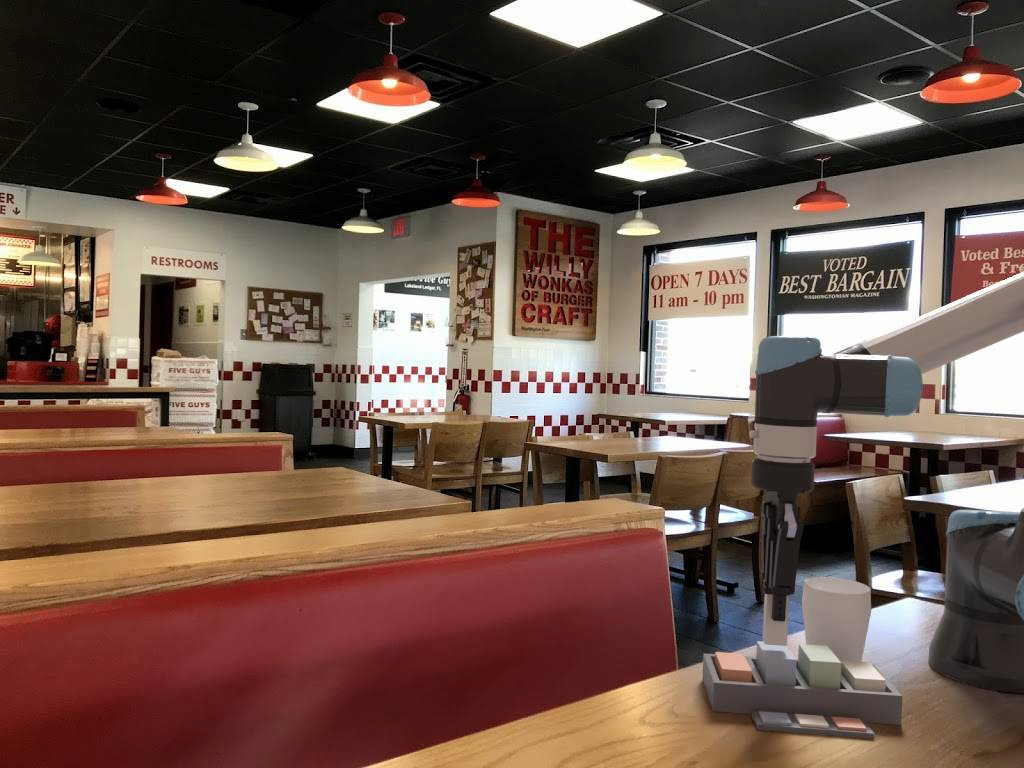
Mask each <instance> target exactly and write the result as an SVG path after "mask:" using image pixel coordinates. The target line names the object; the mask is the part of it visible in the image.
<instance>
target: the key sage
mask: <svg viewBox="0 0 1024 768" xmlns="http://www.w3.org/2000/svg"><path fill="white" fill-rule="evenodd" d="M797 652H798V653H797V654H798V655H797V660H798V671H799V673H800V674H801V676H802V677H803V679H804V680H805V682H806V683H807V685H808V686H809V687H818V688H832V689H840V681H841V662H840V661H839V659H838V658H837V657H836V656H835V655H834V653H833V652H832V651H831V650H830V648H829V647H828V646H823V645H808V644H806V643H805V644H804V643H798V651H797Z"/></svg>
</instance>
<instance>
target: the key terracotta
mask: <svg viewBox="0 0 1024 768" xmlns="http://www.w3.org/2000/svg"><path fill="white" fill-rule="evenodd" d="M714 654H715V670H716V672H717V675H718V677H719V680H720V681H733V682H747V683H751V682H752V670H751V668H750V666H749V664H748V662H747V660H746V658H745V655H744V653H739V652H724V651H723V652H722V651H715V653H714Z"/></svg>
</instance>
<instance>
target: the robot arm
mask: <svg viewBox="0 0 1024 768" xmlns="http://www.w3.org/2000/svg"><path fill="white" fill-rule="evenodd" d="M1021 333H1024V265H1023V266H1022V268H1021V270H1020V273H1018V274H1016V275H1013V276H1012V277H1009V278H1007V279H1005V280H1002V281H1000V282H997V283H995V284H992V285H990V286H988V287H986V288H983V289H981V290H978V291H976V292H973V293H971V294H969V295H966V296H965V297H962V298H960V299H957V300H956V301H953V302H951V303H948V304H946V305H944V306H942V307H939V308H937V309H934V310H932V311H930V312H928V313H925V314H923V315H922V314H921V316H918V317H916V318H913V319H911V320H909V321H907V322H904V323H902V324H900V325H897V326H895V327H892V328H890V329H888V330H885V331H883V332H881V333H879V334H877V335H873V336H872V337H869V338H866V339H864V340H861V342H857V343H856V344H854V345H851V346H849V347H846V348H843V349H841V350H839V351H836V352H835V353H826V352H823V349H822V348H821V341H820V339H818V338H817V337H815V336H814V337H813V336H801V335H799V336H798V335H797V336H796V335H771V336H770V335H769V336H765V337H764V338H762V339H761V341H760V342H759V344H758V352H757V359H756V369H755V371H754V373H755V398H754V399H755V400H754V401H755V404H754V427H753V428H754V430H750V431H749V432H748V434H749V435H748V436H749V438H750V439H753V448H752V452H753V453H754V454H755V455H757V457H755V458H754V459H753V460H752V461H751V478H750V479H751V480H750V482H751V483H750V484H751V486H752V487H753V488H754V489H758V490H761V491H765V492H766V498H765V501H762V503H761V504H760V507H759V512H760V518H761V519H760V520H761V573H760V577H761V579H762V580H763V581H764V582H763V586H764V587H762V594H763V595H764V601H763V604H764V605H763V618H762V619H763V623H762V624H763V625H762V642H764V644H766V645H779V646H788V631H789V613H790V612H789V611H790V607H789V606H790V596H791V595H794V594H795V592H796V581H797V573H798V565H799V563H798V562H799V557H800V555H799V554H800V545H801V539H802V535H803V532H804V528H805V527H804V523H803V521H800V520H801V514H802V513H801V512H802V510H801V506H798V497H797V495H799V494H801V493H802V494H805V493H806V494H807V493H810V492H812V491H813V490H814V488H815V472H816V471H815V469H816V465H815V464H814V462H813V461H811V459H813V458H816V456H817V435H818V434H817V433H818V419H817V418H818V414H819V413H822V414H844V415H860V416H862V415H863V416H881V417H882V416H884V418H888V417H906V416H909V415H911V414H913V413H914V412H915V411H916V410H917V408H918V406H919V405H920V402H921V400H922V399H921V398H922V394H923V388H924V387H923V385H924V381H923V375H924V374H926V373H928V372H930V371H932V370H936V369H937V368H940V367H943V366H945V365H947V364H949V363H952V362H955V361H957V360H959V359H961V358H964V357H966V356H969V355H971V354H974V353H977V352H979V351H981V350H983V349H985V348H987V347H990V346H993V345H994V344H997V343H999V342H1003V341H1005V340H1006V339H1009V338H1012V337H1013V336H1014V337H1015V336H1017V335H1018V334H1021ZM945 536H946V549H945V550H946V553H945V554H946V555H945V558H946V559H945V579H944V580H945V581H944V582H945V584H944V585H945V586H944V607H943V613H942V615H941V617H940V620H939V622H938V625H937V627H936V629H935V632H934V634H933V636H932V638H931V641H930V643H929V647H928V664H929V665H930V667H932V668H933V669H934V670H935V671H937V672H938V673H940V674H942V675H943V676H946V677H947V678H950V679H953V680H954V681H958V682H961V683H963V684H968V685H969V686H974V687H978V688H982V689H987V690H992V691H996V692H997V691H999V692H1002V693H1003V692H1005V693H1015V694H1024V507H1022V508H1021V510H1020V511H1019V512H1017V511H1005V510H1004V511H1003V510H983V509H982V510H981V509H980V510H979V509H957V510H954V511H952V512H951V514H950V515H949V518H948V523H947V529H946V533H945Z"/></svg>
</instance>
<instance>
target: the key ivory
mask: <svg viewBox="0 0 1024 768" xmlns="http://www.w3.org/2000/svg"><path fill="white" fill-rule="evenodd" d="M840 662H841V674H842V675H843V677H844V678H845V679H846V680H847V682H848V683H849V684H850V686H851V687H852V688H853V689H854V690H861V691H875V692H885V688H886V680H885V679H884V678H883V677H882V676H881V675H880V673H879V672H878V671H877V670H876V669H875V668H874V667H873V666H872V665H873V664H871V662H870V661H869V662H868V661H861V662H858V661H843V660H840Z"/></svg>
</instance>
